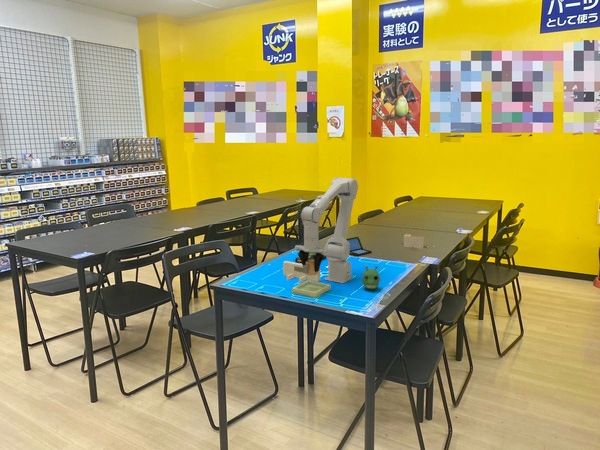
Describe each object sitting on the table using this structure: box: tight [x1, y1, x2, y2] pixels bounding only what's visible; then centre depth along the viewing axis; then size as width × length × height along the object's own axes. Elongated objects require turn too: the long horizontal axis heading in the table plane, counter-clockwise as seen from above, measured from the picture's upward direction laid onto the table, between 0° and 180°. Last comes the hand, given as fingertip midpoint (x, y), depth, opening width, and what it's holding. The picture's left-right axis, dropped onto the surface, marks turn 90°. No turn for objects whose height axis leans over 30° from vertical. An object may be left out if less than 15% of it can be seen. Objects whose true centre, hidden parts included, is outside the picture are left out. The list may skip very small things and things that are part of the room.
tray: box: [291, 280, 331, 299], centre depth 180 cm, size 11×12×2 cm
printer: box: [282, 260, 321, 284], centre depth 195 cm, size 18×7×6 cm, turn 57°
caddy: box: [303, 260, 318, 275], centre depth 179 cm, size 5×7×5 cm, turn 146°
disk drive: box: [294, 252, 327, 264], centre depth 225 cm, size 10×3×15 cm
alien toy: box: [361, 265, 381, 290], centre depth 181 cm, size 7×8×10 cm
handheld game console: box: [346, 236, 373, 257], centre depth 238 cm, size 12×11×7 cm
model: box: [403, 233, 425, 249], centre depth 251 cm, size 3×11×8 cm, turn 73°
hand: (311, 270), depth 180 cm, fingers closed on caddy, 5 cm apart
